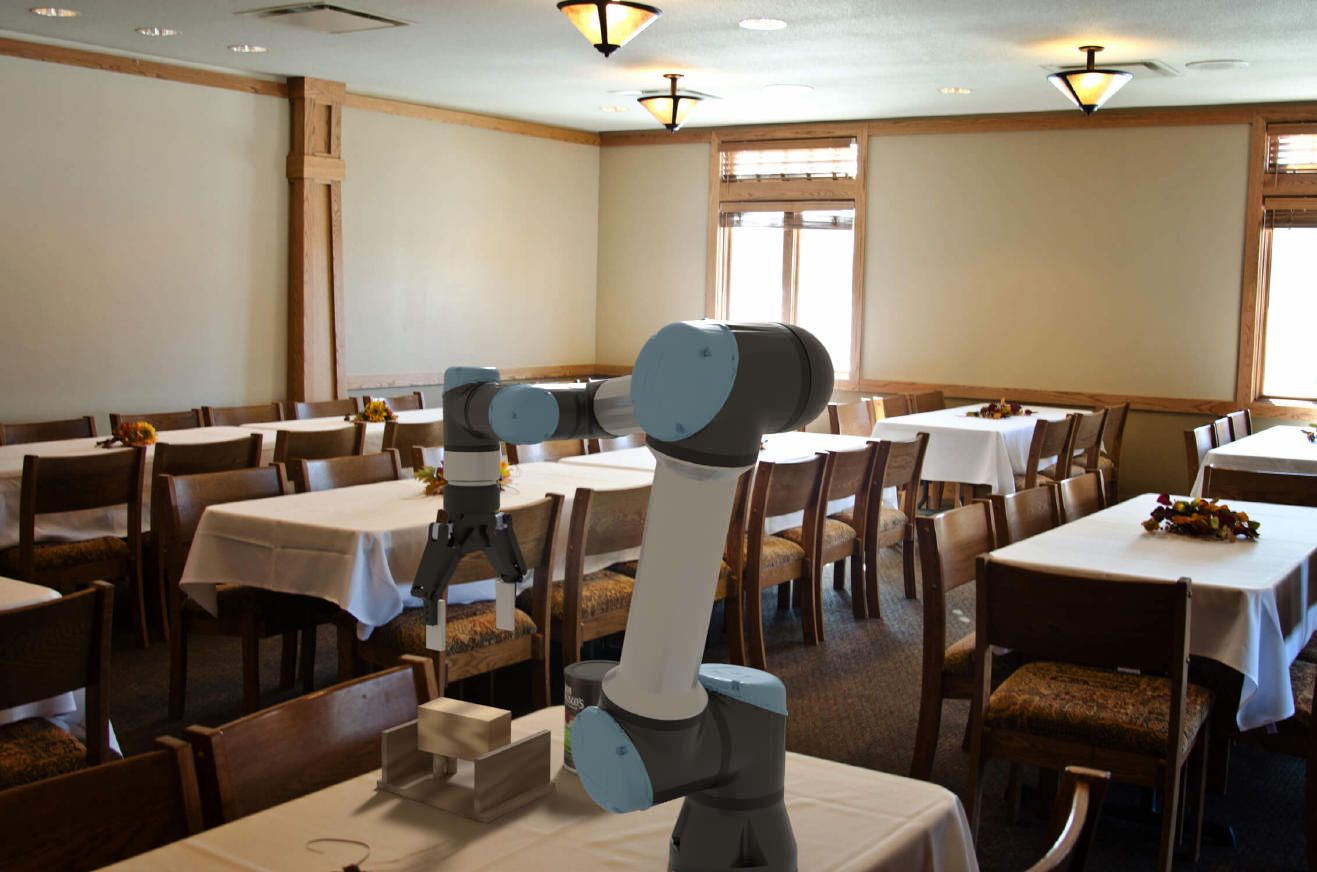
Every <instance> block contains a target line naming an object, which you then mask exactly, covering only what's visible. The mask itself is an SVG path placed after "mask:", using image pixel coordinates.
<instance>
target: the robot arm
mask: <svg viewBox="0 0 1317 872" xmlns="http://www.w3.org/2000/svg"><path fill="white" fill-rule="evenodd" d="M833 365H834V364H833V361H832V358H831V356H830V353H829V352H828V350H827V348H826V346H824V344H823V343H822V341H820V340H819V338H818V337H816V336H815V335H814V334H813V333H812V332H810V331H808V330H807V329H805V328H804V327H800V326H797V325H795V324H790V323H788V322H778V321H777V322H776V321H772V322H771V321H769V322H765V321H763V322H761V321H759V322H758V321H741V320H724V319H723V320H722V319H721V320H720V319H710V318H707V317H706V318H698V319H695V320H682V321H681V320H680V321H675V322H671V323H669V324H667V325H664V326H662V327H661V328H660V329H659V330H658V331H657V332H655V333H653V334H652V335H651V336H650V337H649V338H648V340H647V341H645V343H644V344H643V346H642V348H641V349H640V351H639V353H638V355H637V358H636V360H635V363H634V365H633V368H632V374H629V375H623V376H618V377H613V378H609V379H607V378H606V379H602V380H597V381H589V382H568V383H567V382H552V383H551V382H547V383H545V382H544V383H543V382H540V383H539V382H536V383H535V382H531V383H530V382H529V383H528V382H527V383H524V382H523V383H520V382H516V383H514V382H513V383H512V382H509V383H508V382H506V383H505V382H502V381H501V380H502V379H501V373H500V370H499V369H498V368H497V367H495V366H482V365H481V366H476V365H475V366H474V365H473V366H472V365H471V366H464V365H461V366H458V365H457V366H456V365H454V366H449V367H448V368H446V369H445V370H444V374H443V385H442V386H443V387H442V389H443V390H442V392H441V399H442V442H443V451H442V452H443V453H442V454H443V460H442V461H443V463H442V464H443V479H444V480H446V481H447V482H446V483H444V485H443V487H442V497H443V498H442V499H443V500H442V508H443V510H444V511H445V512H446V514H447V520H446V523H439V522H430V523H429V525H428V530H427V531H428V533H427V542H426V544H425V546H424V547H425V548H424V550H423V552H422V555H421V559H420V561H419V565H418V567H417V570H416V574H415V577H414V579H413V583H412V584H411V588H410V591H409V592H410V596H411V597H414V598H416V599H421V600H422V603H423V605H422V606H423V607H422V608H423V609H422V610H423V612H422V613H423V618H422V619H423V624H424V625H425V628H426V629H425V641H426V642H425V644H426V645H425V648H426V649H428V650H429V649H430V650H434V651H439V652H442V651H445V650H446V600H444V599H441V598H442V596H443V594H444V592H445V590H446V588H447V586H448V584H449V583H450V581H451V580H452V577H453V576H454V573H455V571H456V570H457V568H458V566H459V564H460V563H461V560H462V559H465V557H467V554H472V553H475V552H477V551H480V552H481V551H482V552H483V554H484V556H485V557H486V559H487V561H488V562H489V563H490V565H491V566H492V567H493V569H494V571H495V572H496V573H497V575H498V577H499V578H500V580H502V581H500V580H499V581H496V582H495V583H496V584H495V586H496V587H495V591H496V593H495V595H496V596H495V598H496V599H495V600H496V601H495V615H496V617H495V618H496V621H495V625H496V627H495V628H496V629H500V630H505V631H510V632H511V631H514V630H515V628H516V627H515V616H516V615H515V613H516V612H515V611H516V610H515V607H516V606H515V605H516V603H517V583H519V584H522V583H523V581H524V576H526V575H528V568H527V564H526V561H525V558H524V556H523V553H522V550H521V547H520V543H519V541H518V539H517V536H516V533H515V530H514V523H513V515H512V513H510V512H502V511H501V512H500V511H499V510H500V508H501V485H499V483H498V482H497V481H498V480H500V479H501V442H503V443H509V444H512V445H513V446H531V445H533V446H534V445H538V444H542V443H543V442H557V441H571V440H576V441H577V440H614V439H619V438H623V437H627V436H630V435H635V434H644V433H645V440H644V444H645V447H646V448H647V449H648V451H649V452H650V453H651V454H652V456H653V458H655V461H656V462H655V468H654V472H653V479H652V483H651V484H652V485H651V491H650V495H649V496H650V497H649V501H648V506H647V512H646V519H645V523H644V528H643V534H642V541H641V545H640V552H639V556H638V560H637V561H638V562H637V567H636V572H635V578H634V583H633V588H632V589H633V591H632V594H631V600H630V607H629V612H628V618H627V622H626V627H625V634H624V639H623V646H622V648H621V656H620V661H619V662H620V665H618V666H616V667H614V668H613V669H611V670H609V671H608V672H607V673H606V674H605V676H604V678H603V681H602V687H601V692H600V698H599V703H598V705H597V706H596V707H595V706H588V707H587V708H586V709H584V710H583V711H582V712H580V713H578V714H577V715H576V717H575V719H574V721H573V723H572V727H571V736H570V742H571V752H572V757H573V761H574V765H575V768H576V770H577V772H578V775H577V776H578V778H579V780H580V782H581V784H582V786H583V788H584V789H585V790H586V793H587V794H588V795H589V797H590V798H591V799H592V801H594V802H595V803H596V804H597V805H598V806H600V808H601V809H604V811H607V812H609V813H612V814H615V815H622V814H629V813H633V812H637V811H641V812H644V811H647V810H649V809H651V808H652V807H655V806H658V805H661V804H664V803H668V802H671V801H674V800H676V799H677V800H678V799H680V798H683V802H682V805H681V807H680V810H679V812H678V816H677V818H676V821H675V825H674V827H673V829H672V830H673V831H672V833H671V835H670V840H669V846H668V847H669V848H668V849H669V850H668V851H669V852H668V861H669V865H670V867H671V869H672V870H673V871H674V872H796V871H797V868H798V854H799V853H798V844H797V840H796V838H795V834H794V830H793V826H792V823H791V820H790V817H789V813H788V810H787V807H786V803H785V779H786V778H785V776H786V755H787V754H786V750H787V728H788V727H787V725H788V724H787V723H788V716H789V711H788V710H787V690H786V687H785V684H784V682H783V681H782V680H781V679H780V678H779V677H778V676H775V675H773V674H772V673H769V672H767V671H763V670H760V669H756V668H753V667H748V666H747V667H746V666H742V665H736V664H724V663H702V660H703V655H704V651H705V646H706V642H707V636H708V630H709V628H710V627H709V626H710V621H711V617H712V611H713V606H714V601H715V597H716V591H717V588H718V587H717V586H718V582H719V578H720V577H719V575H720V573H721V567H722V563H723V557H724V552H725V547H726V543H727V538H728V537H727V536H728V532H729V527H730V522H731V517H732V513H733V507H734V501H735V497H736V493H737V487H738V484H739V477H740V476H741V475H742V474H744V473H746V472H748V471H749V470H751V469H752V468H754V467H755V466H756V465H757V462H758V459H759V454H760V449H761V445H762V439H763V436H764V435H775V434H785V433H790V432H794V431H798V430H800V429H802V428H804V427H807V426H809V425H810V424H812V423H813V422H815V420H817V419H818V418H819V417H820V415H821V414H822V413H823V412H824V411H825V409H826V408H827V406H828V405H829V404H830V401H831V398H832V395H833V393H834V392H833V391H834V386H835V369H834V366H833Z"/></svg>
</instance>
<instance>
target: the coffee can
mask: <svg viewBox="0 0 1317 872" xmlns="http://www.w3.org/2000/svg"><path fill="white" fill-rule="evenodd" d="M618 665H620V661H616V660H607V659H605V660H604V659H594V660H593V659H591V660H581V661H578V662H574V663H571V664H569V665H567V666H566V667H564V669H563V673H564V674H563V675H564V726H563V727H564V728H563V729H564V731H563V733H564V735H563V738H564V739H563V743H564V744H563V763H562V765H563V768H564V769H565V770H566V771H568V772H569V773H571V774H574V775H577V776H579V775H578V772H577V770H576V768H575V765H574V761H573V757H572V752H571V742H570V736H571V727H572V723H573V721H574V719H575V717H576V715H577V714H578V713H580V712H582V711H583V710H584V709H586V708H587V707H588V706H595V707H596V706H597V705H598V703H599V698H600V692H601V687H602V681H603V678H604V676H605V674H606V673H607V672H608V671H609V670H611V669H613V668H614V667H616V666H618Z"/></svg>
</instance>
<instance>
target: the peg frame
mask: <svg viewBox="0 0 1317 872" xmlns="http://www.w3.org/2000/svg"><path fill="white" fill-rule="evenodd" d="M551 741H552V730H550V729H546V728H544V729H542V730H540V731H537V732H535V733H533V734H530V735H528V736H526V737H524V738H521V739H518V740H516V741H513V742H511V744H508V745H506V746H503V747H501V748H498V749H496V750H494V751H491V752H489V753H486V754H484V755H481V756H479V757H477V758H474V762H470V761H466V760H461V759H457V758H453V757H449V756H444V755H440V754H436V753H432V752H427V751H423V750H419V749H418V718H416V719H413V720H410V721H408V722H405V723H401V724H399V725H396V726H394V727H393V726H392V727H390V728H388V729H385V730H382V731H381V778H378V779H376V788H378V789H380V790H384V791H387V792H390V793H392V794H396V795H398V796H402V797H405V798H408V799H410V800H413V801H418V802H419V803H422V804H427V805H428V806H429V805H430V806H433V807H435V808H438V809H442V810H444V811H447V812H450V813H454V814H457V815H460V816H463V817H466V818H469V819H472V820H474V821H477V822H481V823H484V824H487V823H489V822H491V821H493V820H496V819H498V818H500V817H501V816H503V815H506V814H509V813H510V812H513V811H514V810H517V809H519V808H520V807H523V806H525V805H527V804H529V803H530V802H531V803H532V801H534V800H538V799H539V798H541V797H543V796H546V795H548V794H550V793H551V792H554V791H556V790H557V781H553V780H551V767H552V766H551V759H552V758H551V757H552V756H551V755H552V752H551V747H552V746H551V745H552V742H551Z"/></svg>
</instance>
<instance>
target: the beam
mask: <svg viewBox="0 0 1317 872" xmlns="http://www.w3.org/2000/svg"><path fill="white" fill-rule="evenodd" d="M417 719H418V749H419V750H423V751H427V752H432V753H436V754H440V755H444V756H449V757H453V758H457V759H461V760H466V761H470V762H474V758H477V757H479V756H481V755H484V754H486V753H489V752H491V751H494V750H496V749H498V748H501V747H503V746H506V745H508V744H511V743H512V711H511V710H508V709H507V710H506V709H501V708H497V707H492V706H488V705H482V704H476V703H473V702H467V701H465V700H464V701H463V700H457V699H453V698H448V697H443V696H441V697H438V698H435V699H432V700H430V701H428V702H425V703H423V704H421V705H418V706H417Z"/></svg>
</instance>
